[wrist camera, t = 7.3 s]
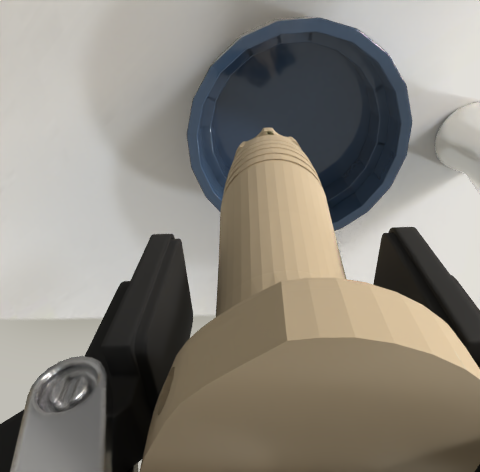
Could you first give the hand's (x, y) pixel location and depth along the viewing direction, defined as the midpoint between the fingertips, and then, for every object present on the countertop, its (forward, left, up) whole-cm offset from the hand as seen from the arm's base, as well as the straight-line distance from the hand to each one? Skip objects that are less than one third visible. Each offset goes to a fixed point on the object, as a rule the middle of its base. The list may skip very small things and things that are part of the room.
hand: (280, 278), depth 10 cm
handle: (0, 0, -10) cm, 10 cm away
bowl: (+3, +2, -25) cm, 26 cm away
